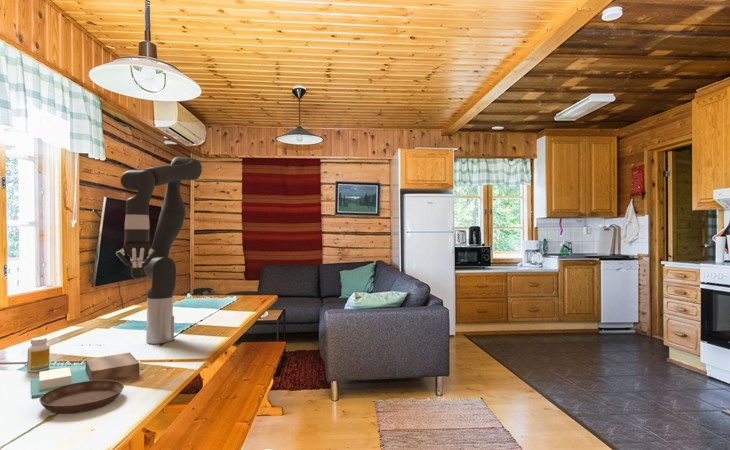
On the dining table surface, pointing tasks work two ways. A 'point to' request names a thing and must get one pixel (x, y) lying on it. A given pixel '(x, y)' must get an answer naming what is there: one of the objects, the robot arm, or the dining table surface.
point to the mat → (75, 378)
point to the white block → (54, 378)
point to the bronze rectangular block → (112, 367)
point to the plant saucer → (81, 396)
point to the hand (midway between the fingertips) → (136, 278)
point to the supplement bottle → (38, 355)
